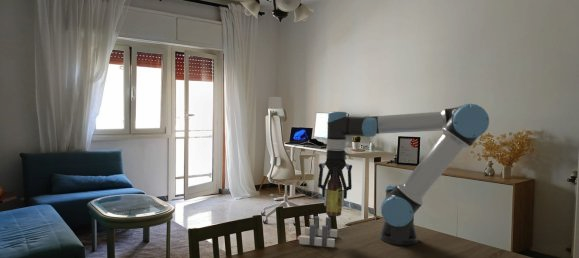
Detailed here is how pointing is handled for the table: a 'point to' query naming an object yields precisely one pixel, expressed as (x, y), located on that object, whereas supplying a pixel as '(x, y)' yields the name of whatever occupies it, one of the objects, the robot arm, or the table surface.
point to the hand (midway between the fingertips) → (334, 205)
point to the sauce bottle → (334, 194)
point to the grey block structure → (319, 234)
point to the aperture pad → (302, 235)
